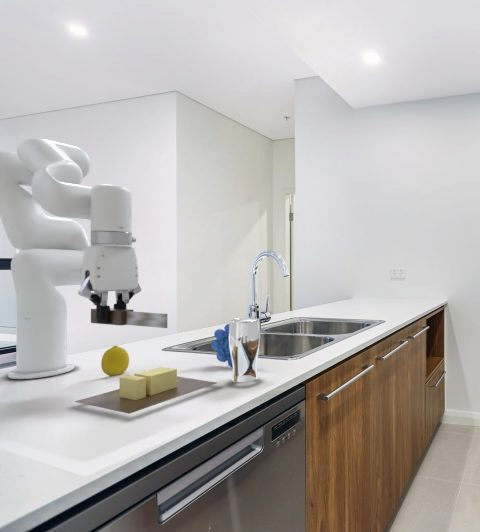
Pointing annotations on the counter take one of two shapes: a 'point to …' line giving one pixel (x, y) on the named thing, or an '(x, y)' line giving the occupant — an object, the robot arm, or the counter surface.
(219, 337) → the grapes
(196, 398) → the counter surface
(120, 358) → the lemon
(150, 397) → the board
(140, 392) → the butter slice
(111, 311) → the knife
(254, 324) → the beer glass
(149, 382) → the butter block
